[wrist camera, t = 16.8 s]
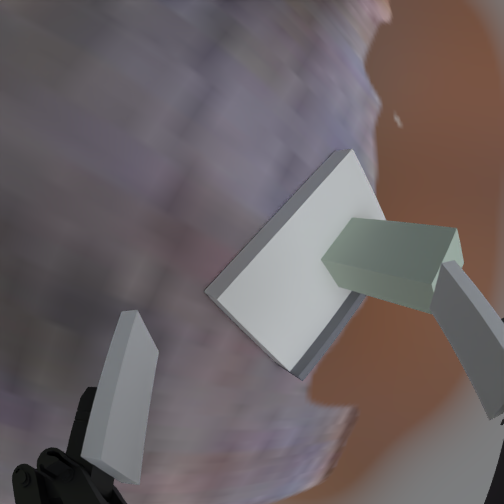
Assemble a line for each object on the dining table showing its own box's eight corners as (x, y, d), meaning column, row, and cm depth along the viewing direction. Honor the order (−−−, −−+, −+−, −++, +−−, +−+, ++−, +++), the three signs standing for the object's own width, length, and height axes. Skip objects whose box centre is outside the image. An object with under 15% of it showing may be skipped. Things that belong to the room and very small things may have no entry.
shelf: (334, 150, 38) (361, 147, 35) (378, 237, 46) (402, 240, 42) (203, 291, 31) (224, 303, 28) (281, 367, 39) (303, 382, 35)
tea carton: (320, 259, 35) (431, 284, 24) (351, 217, 37) (456, 228, 26) (338, 286, 38) (439, 316, 26) (366, 246, 40) (463, 263, 28)
